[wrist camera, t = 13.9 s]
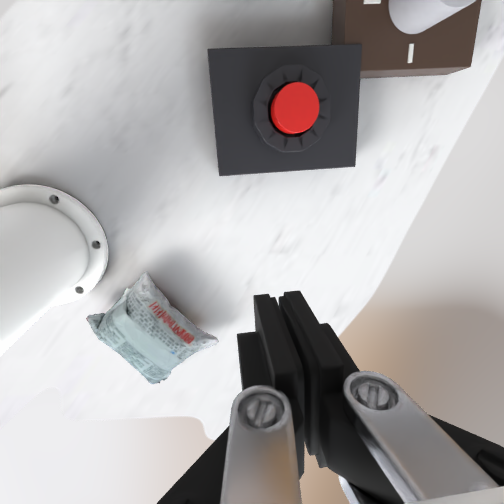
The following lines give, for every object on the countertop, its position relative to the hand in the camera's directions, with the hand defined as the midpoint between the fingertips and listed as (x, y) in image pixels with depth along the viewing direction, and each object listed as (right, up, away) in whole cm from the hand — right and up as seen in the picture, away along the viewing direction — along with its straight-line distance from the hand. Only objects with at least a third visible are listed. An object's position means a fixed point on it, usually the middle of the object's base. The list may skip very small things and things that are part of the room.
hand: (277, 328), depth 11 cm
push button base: (+2, +16, +18) cm, 24 cm away
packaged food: (-12, -5, +24) cm, 27 cm away
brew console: (+12, +25, +16) cm, 32 cm away
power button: (+2, +15, +14) cm, 20 cm away
